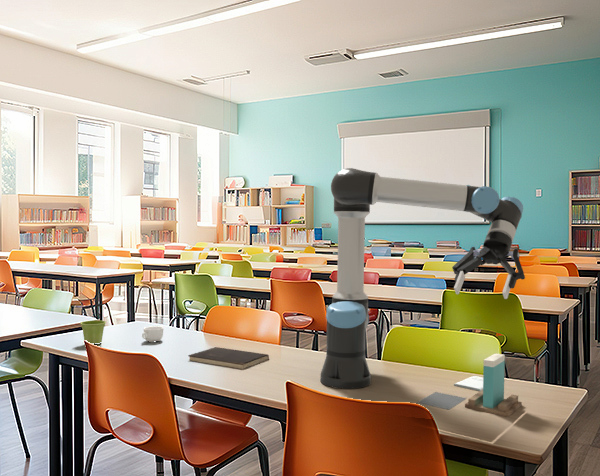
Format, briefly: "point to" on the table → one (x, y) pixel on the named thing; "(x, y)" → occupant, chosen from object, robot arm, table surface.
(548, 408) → the table surface
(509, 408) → the rack
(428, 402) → the mat
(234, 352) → the hardcover book
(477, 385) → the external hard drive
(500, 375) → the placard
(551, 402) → the table surface
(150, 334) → the teacup
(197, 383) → the table surface
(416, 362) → the table surface
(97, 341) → the plant pot
